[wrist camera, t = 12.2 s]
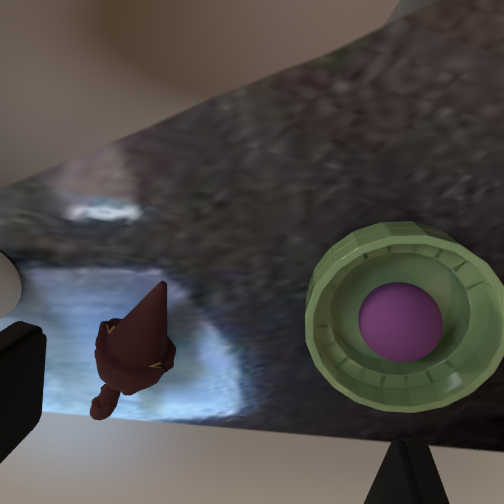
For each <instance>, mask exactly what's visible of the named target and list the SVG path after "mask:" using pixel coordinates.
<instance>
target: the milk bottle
mask: <svg viewBox="0 0 504 504" xmlns="http://www.w3.org/2000/svg"><path fill="white" fill-rule="evenodd" d="M21 294H22V285H21V280H20V277H19V274H18V272H17V270H16V268H15V266H14V265H13V264H12V263H11V261H10V260H9V259H8V258H7V257H6V256H5V255H4V254H2V253H1V252H0V319H2V318H3V317H5V316H6V315H8V314H9V313H11V312H12V311H13V310H14V309H15V308H16V306H17V304H18V302H19V300H20V298H21Z"/></svg>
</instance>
